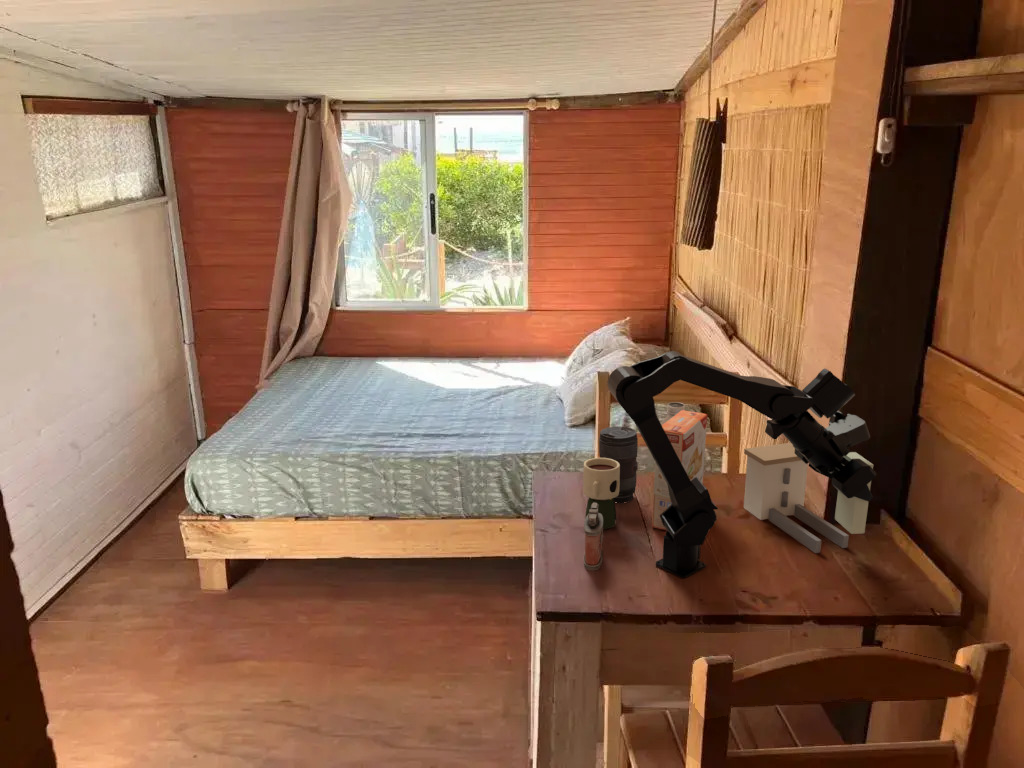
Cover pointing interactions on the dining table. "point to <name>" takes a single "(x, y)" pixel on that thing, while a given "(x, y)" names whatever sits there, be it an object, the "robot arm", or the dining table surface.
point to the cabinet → (784, 494)
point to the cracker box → (681, 456)
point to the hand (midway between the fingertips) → (860, 491)
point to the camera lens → (621, 457)
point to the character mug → (602, 487)
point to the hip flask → (593, 538)
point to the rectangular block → (852, 506)
